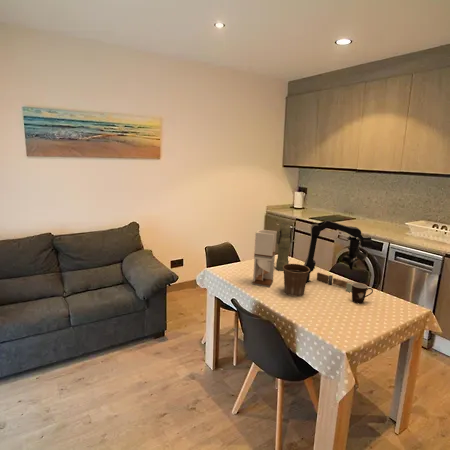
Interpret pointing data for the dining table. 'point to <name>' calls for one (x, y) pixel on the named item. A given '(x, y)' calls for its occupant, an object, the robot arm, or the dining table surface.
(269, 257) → the grey dispenser tower
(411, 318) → the dining table surface
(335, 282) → the gate
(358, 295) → the coffee mug
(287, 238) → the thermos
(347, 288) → the latch stile
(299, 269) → the plant pot
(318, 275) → the hinge post
